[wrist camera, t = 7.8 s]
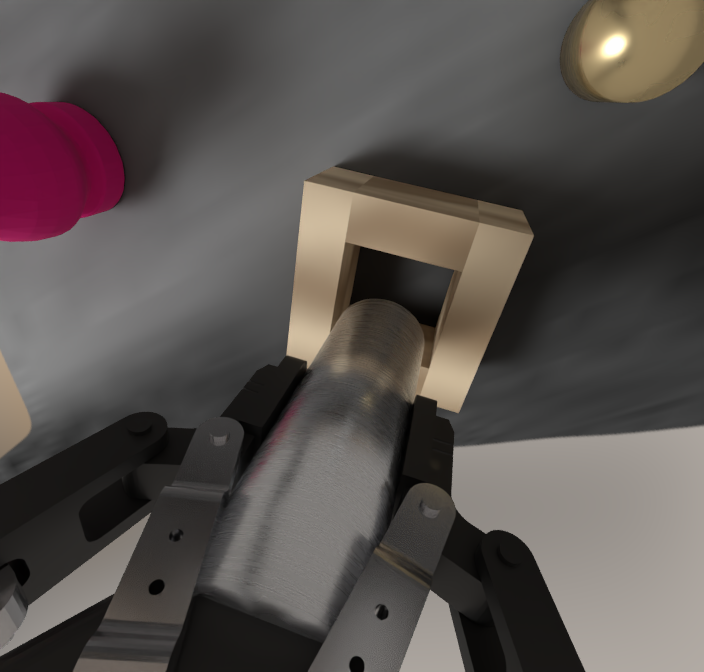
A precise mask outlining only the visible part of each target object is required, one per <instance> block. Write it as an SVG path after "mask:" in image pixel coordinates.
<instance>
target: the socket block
mask: <svg viewBox="0 0 704 672" xmlns="http://www.w3.org/2000/svg"><path fill="white" fill-rule="evenodd" d="M533 237H534V234H533V232H532V230H531V228H530V226H529V224H528V222H527V220H526V218H525V215H524V213H523V211H522V210H518V209H514V208H509V207H505V206H501V205H497V204H492V203H488V202H484V201H479V200H475V199H471V198H467V197H462V196H458V195H454V194H449V193H445V192H441V191H436V190H432V189H428V188H424V187H419V186H415V185H411V184H406V183H402V182H398V181H394V180H389V179H385V178H381V177H376V176H372V175H368V174H363V173H359V172H355V171H351V170H346V169H342V168H338V167H331V168H329V169H327V170H325V171H323V172H321V173H319V174H317V175H315V176H313V177H311V178H309V179H307V180H305V181H304V189H303V199H302V209H301V219H300V229H299V238H298V248H297V258H296V268H295V278H294V287H293V297H292V307H291V317H290V327H289V336H288V346H287V355H289V356H292V357H295V358H299V359H302V360H305V361H307V368H309V366H310V365H311V363H312V361H313V360H314V358H315V357H316V355H317V353H318V352H319V350H320V348H321V347H322V345H323V344H324V342H325V340H326V339H327V337H328V335H329V334H330V332H331V331H332V329H333V327H334V326H335V324H336V322H337V321H338V319H339V318H340V316H341V314H342V313H343V312H344V311H345V310H346V309H347V308H348V307H349V306H351V304H350V299H351V294H352V289H353V284H354V278H355V273H356V268H357V263H358V257H359V252H360V247H361V246H363V247H366V248H370V249H374V250H378V251H382V252H386V253H390V254H394V255H398V256H402V257H406V258H410V259H413V260H417V261H421V262H425V263H429V264H433V265H437V266H441V267H445V268H449V269H453V270H454V273H453V276H452V279H451V282H450V285H449V288H448V291H447V294H446V297H445V300H444V303H443V306H442V309H441V312H440V315H439V318H438V321H437V324H436V327H435V328H434V327H431V326H427V325H423V324H420V323H419V324H420V326H421V328H422V331H423V334H424V342H425V343H424V351H423V356H422V362H421V367H420V372H419V377H418V383H417V388H416V393H415V397H416V395H420V396H424V397H427V398H430V399H433V400H437V407H440V408H443V409H447V410H450V411H453V412H457V413H459V411H460V408H461V406H462V404H463V401H464V399H465V397H466V394H467V392H468V390H469V387H470V385H471V383H472V380H473V378H474V376H475V373H476V371H477V369H478V366H479V364H480V362H481V359H482V357H483V355H484V352H485V350H486V347H487V345H488V343H489V340H490V338H491V336H492V333H493V331H494V329H495V326H496V324H497V322H498V319H499V317H500V315H501V312H502V310H503V308H504V305H505V303H506V301H507V298H508V296H509V294H510V291H511V289H512V287H513V284H514V282H515V279H516V277H517V275H518V272H519V270H520V268H521V265H522V263H523V261H524V258H525V256H526V254H527V251H528V249H529V247H530V244H531V242H532V240H533Z"/></svg>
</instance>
